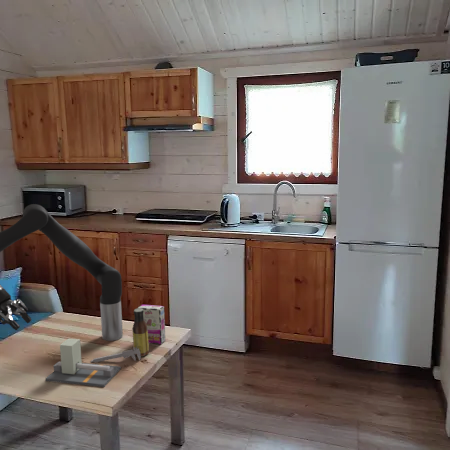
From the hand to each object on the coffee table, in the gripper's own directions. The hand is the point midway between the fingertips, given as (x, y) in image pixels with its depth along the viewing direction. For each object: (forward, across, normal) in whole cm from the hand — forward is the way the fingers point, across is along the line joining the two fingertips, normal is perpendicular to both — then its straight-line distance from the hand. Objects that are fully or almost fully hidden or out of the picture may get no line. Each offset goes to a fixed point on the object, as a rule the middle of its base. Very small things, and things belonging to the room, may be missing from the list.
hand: (24, 325), depth 175 cm
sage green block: (+26, 0, -2) cm, 26 cm away
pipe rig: (+30, 0, -4) cm, 31 cm away
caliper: (+36, +13, -9) cm, 39 cm away
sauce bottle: (+41, +21, -15) cm, 48 cm away
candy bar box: (+41, +34, -15) cm, 55 cm away
